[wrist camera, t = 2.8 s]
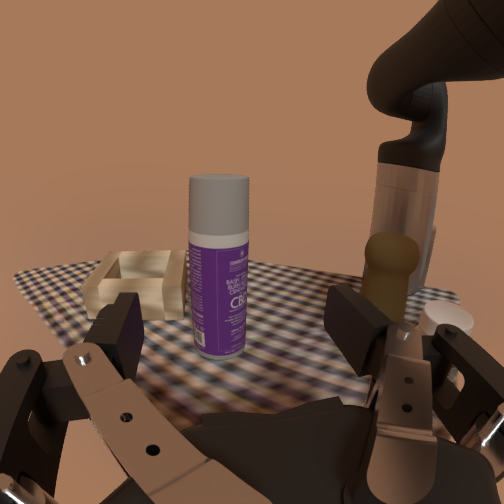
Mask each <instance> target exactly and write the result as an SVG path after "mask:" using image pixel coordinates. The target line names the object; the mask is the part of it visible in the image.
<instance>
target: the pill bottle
mask: <svg viewBox="0 0 504 504" xmlns="http://www.w3.org/2000/svg"><path fill="white" fill-rule="evenodd" d="M439 324H451V325H454V326H457V327H458V328H460V329H461V330H462V331H464V332H465V333H466V334H467V335H468V336H469V335H470V333H471V330H472V327H473V325H474V320H473V317H472V316H471V314H470V313H469V312H467V310H465V309H464V308H462V307H460V306H458V305H456V304H454V303H451V302H448V301H442V300H433V301H430V302H427V303H426V304H425V306H424V308H423V311H422V314H421V316H420V319H419V325H417V326H416V327H415V328H417V329H418V330H419V331H420V333H421V335H434V333H435V330H436V327H437V326H438V325H439ZM457 371H458V369H457V368H456V367H455V366H454V365H453V366H452V369H451V371H450V373H449V375H448V376H447V378H448V379H449V380H450V381H451V382H452V381H453V379H454V377H455V375H456V373H457ZM433 412H434V411H433V409H432V413H433Z"/></svg>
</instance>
